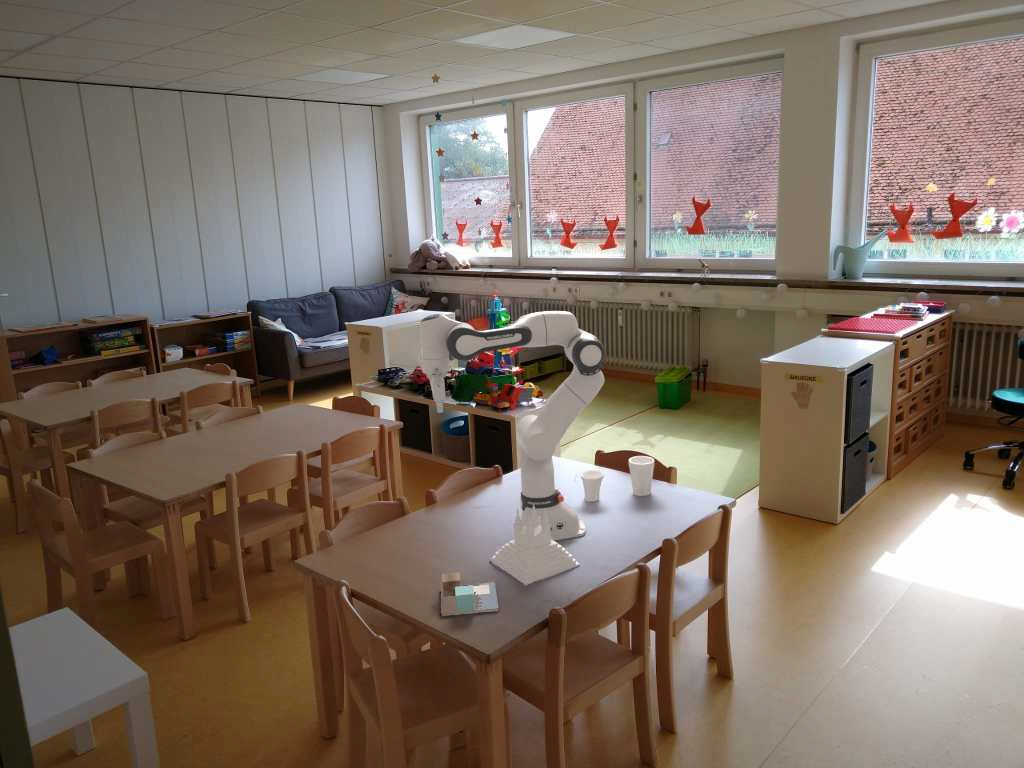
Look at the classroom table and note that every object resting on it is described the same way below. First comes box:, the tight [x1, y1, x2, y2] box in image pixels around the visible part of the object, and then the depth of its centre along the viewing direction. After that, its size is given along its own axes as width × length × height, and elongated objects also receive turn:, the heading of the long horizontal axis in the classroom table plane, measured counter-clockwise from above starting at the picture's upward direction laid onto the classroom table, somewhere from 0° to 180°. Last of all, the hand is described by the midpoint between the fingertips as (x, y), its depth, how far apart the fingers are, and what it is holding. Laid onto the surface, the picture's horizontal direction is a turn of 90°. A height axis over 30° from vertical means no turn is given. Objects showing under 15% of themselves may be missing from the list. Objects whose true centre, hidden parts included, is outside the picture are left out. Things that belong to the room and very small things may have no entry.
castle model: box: [491, 504, 580, 586], centre depth 237 cm, size 20×20×18 cm
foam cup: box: [628, 455, 655, 497], centre depth 289 cm, size 10×9×13 cm
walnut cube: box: [441, 571, 462, 597], centre depth 221 cm, size 5×5×5 cm
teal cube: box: [455, 584, 475, 611], centre depth 214 cm, size 5×5×5 cm
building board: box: [473, 581, 499, 610], centre depth 219 cm, size 16×15×1 cm
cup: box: [579, 469, 605, 503], centre depth 286 cm, size 9×9×10 cm
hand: (439, 408), depth 247 cm, fingers open, 8 cm apart
